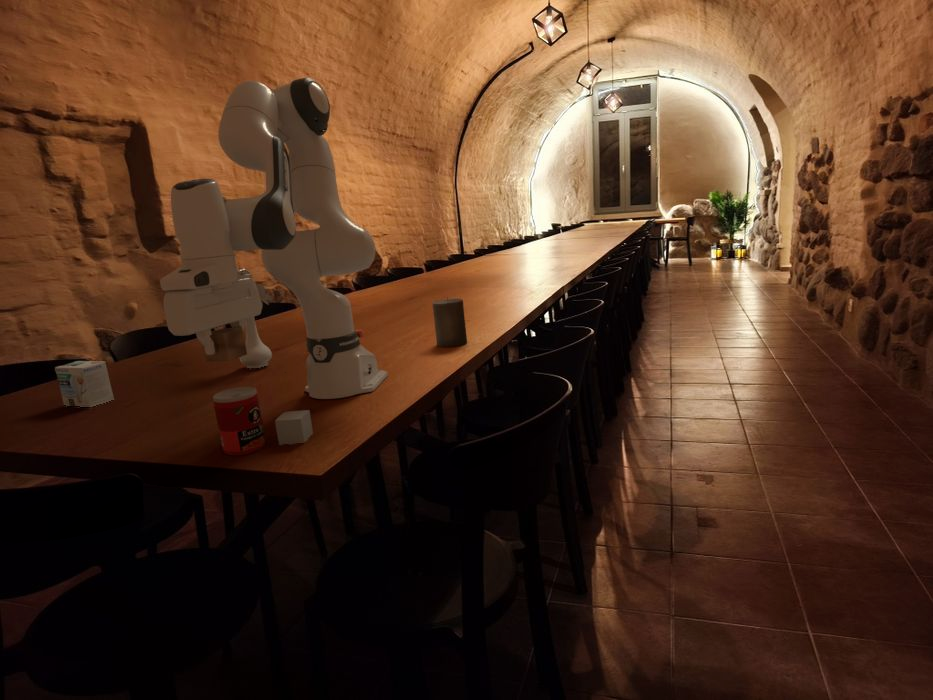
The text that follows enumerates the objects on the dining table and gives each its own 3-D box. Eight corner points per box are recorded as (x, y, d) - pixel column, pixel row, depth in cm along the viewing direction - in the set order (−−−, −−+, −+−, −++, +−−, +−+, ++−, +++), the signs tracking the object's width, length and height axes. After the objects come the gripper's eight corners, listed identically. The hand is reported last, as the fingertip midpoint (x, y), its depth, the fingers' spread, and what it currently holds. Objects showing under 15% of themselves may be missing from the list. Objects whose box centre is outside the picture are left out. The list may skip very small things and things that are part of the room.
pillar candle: (472, 343, 182) (468, 295, 179) (445, 348, 177) (440, 300, 174) (457, 339, 190) (453, 293, 187) (431, 344, 185) (426, 298, 182)
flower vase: (242, 362, 185) (227, 283, 179) (293, 360, 180) (280, 280, 174) (215, 373, 173) (198, 289, 167) (269, 372, 168) (254, 286, 162)
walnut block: (225, 354, 110) (220, 328, 108) (247, 354, 108) (242, 328, 107) (206, 361, 105) (200, 334, 104) (228, 361, 103) (223, 333, 102)
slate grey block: (288, 435, 115) (284, 411, 114) (313, 434, 115) (309, 410, 113) (279, 445, 110) (274, 420, 109) (304, 443, 110) (300, 418, 109)
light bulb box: (63, 407, 151) (53, 367, 149) (88, 398, 157) (78, 360, 155) (91, 408, 147) (81, 367, 145) (115, 400, 153) (106, 360, 151)
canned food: (247, 457, 105) (236, 400, 103) (213, 454, 108) (202, 398, 106) (275, 441, 112) (265, 387, 110) (242, 438, 115) (232, 385, 113)
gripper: (236, 268, 114) (248, 337, 117) (151, 282, 95) (168, 363, 98) (263, 266, 112) (274, 336, 115) (181, 280, 93) (198, 363, 96)
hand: (225, 349), depth 106 cm, fingers closed on walnut block, 5 cm apart
